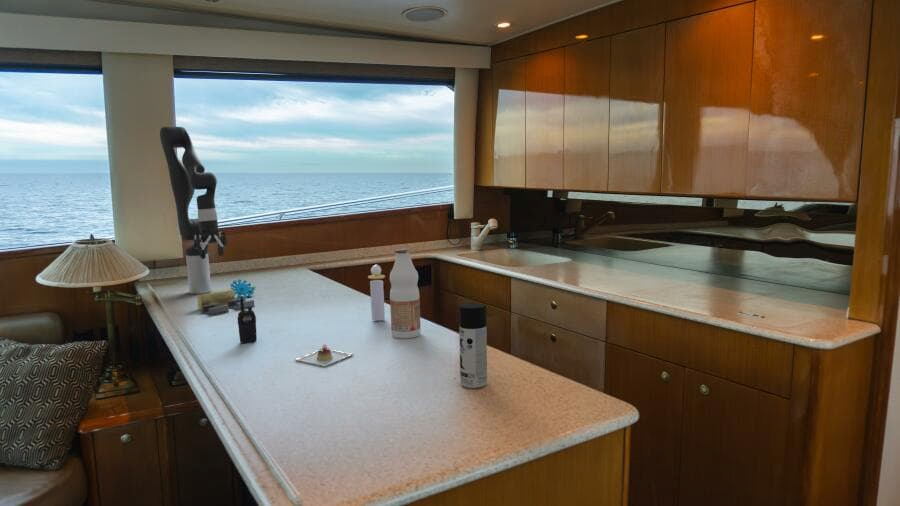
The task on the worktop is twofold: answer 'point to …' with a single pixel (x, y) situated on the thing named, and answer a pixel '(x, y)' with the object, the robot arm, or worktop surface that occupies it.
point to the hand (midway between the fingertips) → (212, 257)
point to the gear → (242, 288)
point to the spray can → (473, 345)
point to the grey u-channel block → (226, 306)
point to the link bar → (215, 298)
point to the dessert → (324, 355)
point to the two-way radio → (246, 324)
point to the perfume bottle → (377, 294)
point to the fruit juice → (404, 297)
